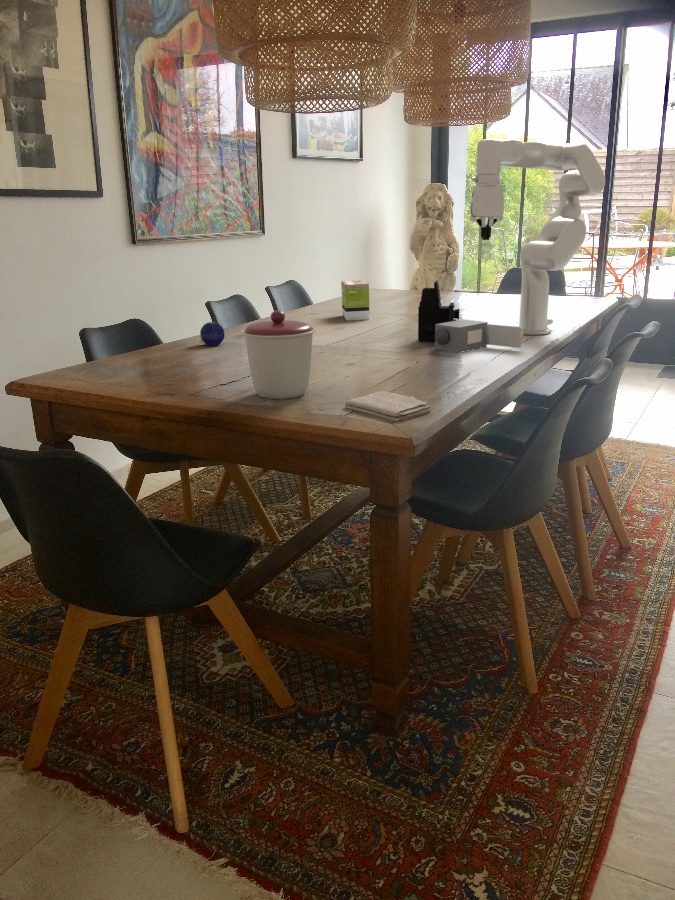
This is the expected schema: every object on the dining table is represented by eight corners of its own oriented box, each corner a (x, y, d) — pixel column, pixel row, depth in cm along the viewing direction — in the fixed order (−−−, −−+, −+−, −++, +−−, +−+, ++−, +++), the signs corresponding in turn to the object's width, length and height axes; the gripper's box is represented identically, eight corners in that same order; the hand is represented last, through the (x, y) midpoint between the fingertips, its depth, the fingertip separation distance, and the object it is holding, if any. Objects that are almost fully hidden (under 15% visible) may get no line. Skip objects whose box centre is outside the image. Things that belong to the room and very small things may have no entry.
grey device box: (462, 343, 252) (463, 319, 249) (487, 346, 244) (488, 322, 242) (432, 349, 242) (432, 324, 239) (457, 353, 235) (457, 328, 232)
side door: (485, 344, 243) (486, 324, 241) (488, 343, 244) (489, 323, 242) (520, 348, 236) (521, 327, 234) (522, 347, 237) (523, 326, 235)
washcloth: (399, 424, 164) (399, 410, 163) (342, 409, 176) (342, 397, 175) (434, 413, 171) (434, 400, 170) (377, 400, 184) (377, 388, 183)
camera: (457, 343, 251) (459, 282, 244) (417, 343, 253) (417, 282, 247) (458, 338, 260) (460, 279, 254) (419, 338, 263) (420, 279, 256)
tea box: (341, 315, 319) (340, 280, 315) (364, 314, 320) (364, 279, 316) (345, 320, 305) (345, 283, 301) (370, 319, 306) (369, 283, 302)
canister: (331, 395, 187) (329, 310, 180) (268, 408, 177) (264, 318, 171) (292, 383, 201) (289, 303, 194) (232, 393, 191) (227, 310, 185)
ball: (203, 347, 254) (201, 325, 252) (198, 344, 261) (197, 322, 258) (226, 345, 257) (225, 323, 254) (221, 342, 264) (219, 320, 261)
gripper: (468, 180, 236) (466, 241, 242) (514, 179, 238) (511, 239, 243) (462, 181, 243) (460, 240, 249) (506, 180, 245) (503, 238, 250)
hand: (485, 239), depth 246 cm, fingers closed
